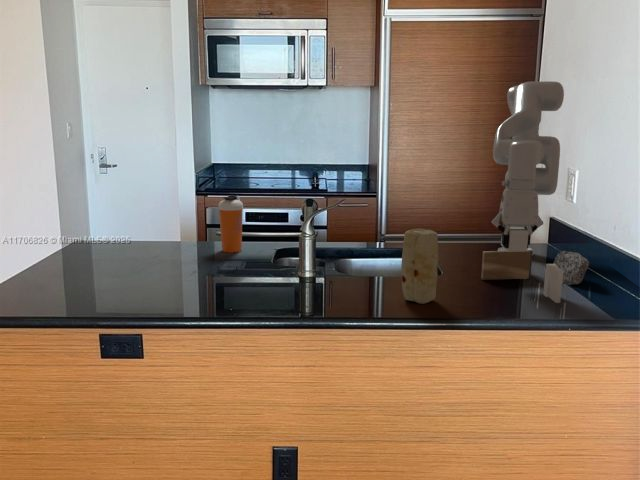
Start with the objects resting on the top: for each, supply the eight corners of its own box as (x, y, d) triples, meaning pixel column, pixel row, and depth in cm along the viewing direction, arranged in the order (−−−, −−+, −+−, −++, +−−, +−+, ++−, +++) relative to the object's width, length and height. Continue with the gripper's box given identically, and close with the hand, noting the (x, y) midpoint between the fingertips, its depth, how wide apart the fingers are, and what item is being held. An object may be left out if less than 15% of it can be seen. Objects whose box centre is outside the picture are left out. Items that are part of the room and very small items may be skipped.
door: (479, 278, 182) (481, 250, 180) (527, 277, 184) (529, 249, 182) (482, 280, 179) (484, 252, 177) (530, 279, 181) (533, 251, 179)
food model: (433, 297, 163) (437, 227, 159) (438, 305, 157) (442, 232, 152) (398, 297, 163) (401, 226, 159) (402, 304, 157) (405, 231, 152)
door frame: (553, 302, 159) (556, 270, 157) (513, 270, 191) (516, 243, 189) (562, 302, 159) (565, 271, 157) (521, 270, 191) (523, 243, 189)
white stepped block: (526, 251, 168) (528, 230, 166) (509, 251, 168) (511, 230, 166) (517, 245, 175) (519, 225, 174) (500, 244, 175) (502, 225, 174)
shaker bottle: (216, 252, 212) (214, 198, 207) (224, 247, 220) (222, 194, 216) (240, 254, 210) (238, 198, 206) (247, 248, 219) (246, 195, 214)
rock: (591, 288, 172) (594, 254, 171) (561, 286, 173) (564, 252, 172) (574, 282, 187) (577, 251, 187) (547, 280, 188) (550, 249, 188)
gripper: (494, 186, 162) (489, 250, 166) (555, 187, 163) (549, 250, 166) (486, 183, 170) (482, 244, 174) (545, 183, 170) (539, 245, 174)
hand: (515, 246), depth 170 cm, fingers closed on white stepped block, 5 cm apart
